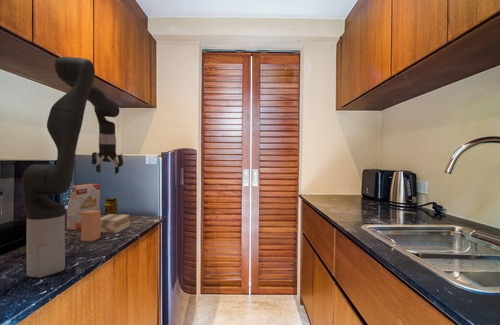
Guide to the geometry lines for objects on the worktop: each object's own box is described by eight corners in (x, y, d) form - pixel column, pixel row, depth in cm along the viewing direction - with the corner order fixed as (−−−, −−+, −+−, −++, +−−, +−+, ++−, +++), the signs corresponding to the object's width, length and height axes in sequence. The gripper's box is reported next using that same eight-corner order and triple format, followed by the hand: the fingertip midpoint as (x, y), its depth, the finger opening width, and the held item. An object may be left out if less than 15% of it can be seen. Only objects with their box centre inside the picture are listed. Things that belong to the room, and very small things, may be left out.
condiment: (101, 220, 133) (101, 198, 133) (115, 217, 141) (115, 196, 141) (109, 222, 130) (109, 200, 130) (123, 219, 137) (124, 198, 137)
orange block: (100, 237, 107) (100, 210, 107) (92, 241, 102) (92, 212, 102) (89, 236, 107) (89, 209, 107) (81, 240, 102) (81, 212, 102)
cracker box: (76, 231, 114) (76, 186, 114) (65, 230, 116) (66, 186, 115) (100, 223, 128) (100, 183, 128) (90, 222, 129) (90, 183, 129)
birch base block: (129, 226, 125) (130, 214, 125) (117, 233, 114) (117, 220, 114) (109, 225, 125) (109, 214, 125) (94, 232, 114) (94, 219, 114)
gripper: (88, 142, 119) (89, 173, 122) (119, 144, 121) (119, 175, 124) (95, 140, 126) (96, 170, 129) (125, 142, 128) (124, 172, 132)
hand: (107, 172), depth 127 cm, fingers open, 8 cm apart
